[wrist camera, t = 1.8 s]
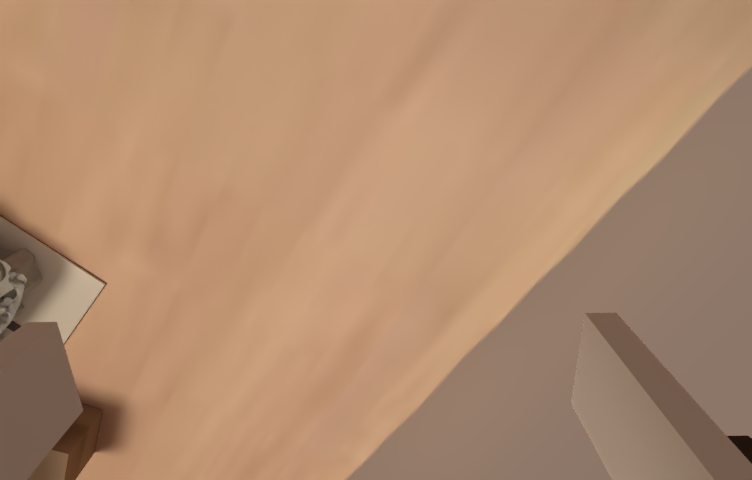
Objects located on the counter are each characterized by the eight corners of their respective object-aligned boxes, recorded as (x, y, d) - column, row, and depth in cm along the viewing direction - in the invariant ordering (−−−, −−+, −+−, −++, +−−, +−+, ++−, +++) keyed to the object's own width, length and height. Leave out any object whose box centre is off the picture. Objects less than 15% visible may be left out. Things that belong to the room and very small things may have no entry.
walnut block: (36, 436, 43) (-6, 484, 38) (42, 392, 41) (-1, 436, 36) (95, 451, 43) (60, 500, 39) (103, 408, 41) (68, 454, 37)
